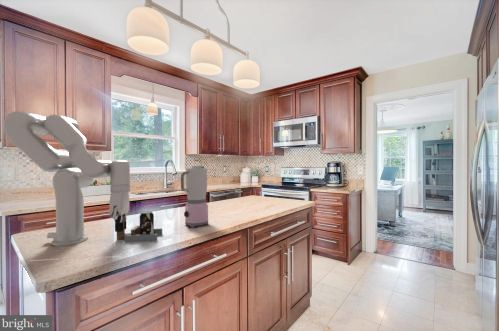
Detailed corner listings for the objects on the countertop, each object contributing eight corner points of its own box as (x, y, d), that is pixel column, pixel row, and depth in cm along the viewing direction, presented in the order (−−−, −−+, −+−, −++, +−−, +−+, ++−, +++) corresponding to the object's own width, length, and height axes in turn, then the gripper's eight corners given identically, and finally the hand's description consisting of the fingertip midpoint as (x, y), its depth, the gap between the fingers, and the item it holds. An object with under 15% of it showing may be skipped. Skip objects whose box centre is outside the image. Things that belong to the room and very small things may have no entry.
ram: (114, 241, 101) (114, 218, 101) (121, 236, 108) (121, 214, 108) (134, 240, 102) (134, 217, 102) (140, 235, 109) (140, 214, 108)
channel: (124, 242, 100) (124, 235, 100) (133, 235, 109) (133, 229, 109) (156, 241, 101) (156, 234, 101) (162, 234, 111) (162, 228, 111)
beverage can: (156, 238, 106) (155, 211, 105) (142, 241, 101) (142, 213, 101) (150, 235, 110) (150, 209, 109) (137, 238, 106) (137, 211, 105)
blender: (200, 220, 138) (199, 165, 137) (213, 224, 129) (212, 165, 129) (175, 226, 126) (174, 166, 126) (187, 230, 118) (187, 166, 117)
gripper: (119, 187, 112) (119, 226, 112) (102, 191, 96) (102, 236, 96) (135, 186, 112) (136, 225, 113) (121, 190, 96) (122, 235, 97)
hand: (120, 230), depth 104 cm, fingers closed on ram, 2 cm apart
